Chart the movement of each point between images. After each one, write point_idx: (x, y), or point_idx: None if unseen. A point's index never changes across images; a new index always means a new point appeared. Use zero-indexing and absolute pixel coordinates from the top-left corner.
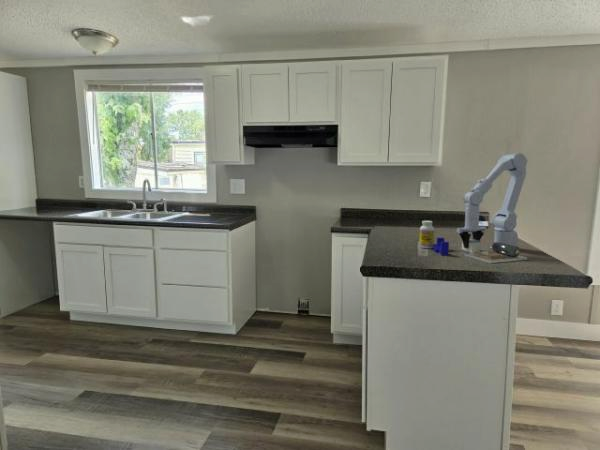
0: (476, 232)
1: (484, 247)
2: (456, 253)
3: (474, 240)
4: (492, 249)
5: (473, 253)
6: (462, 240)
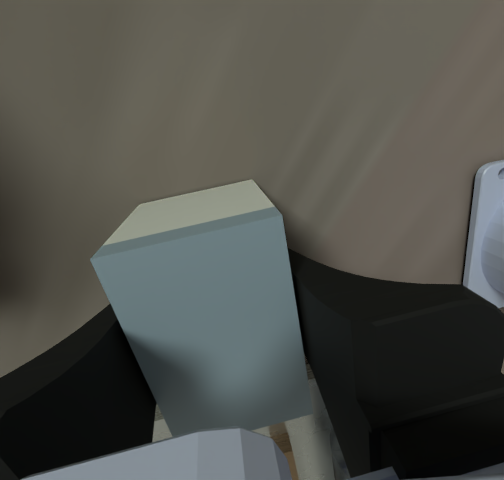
0: (368, 468)
1: (466, 105)
2: (27, 361)
3: (246, 394)
4: (330, 432)
5: None
6: (76, 336)
